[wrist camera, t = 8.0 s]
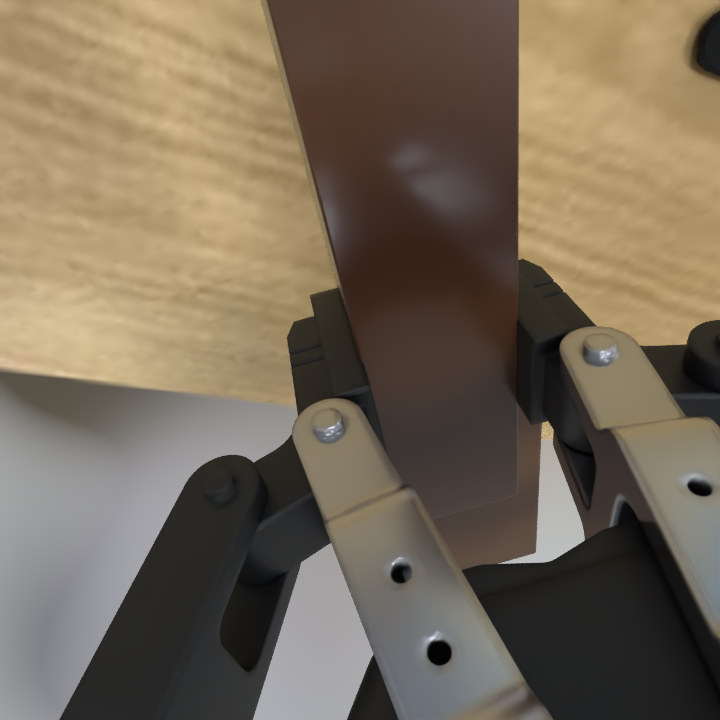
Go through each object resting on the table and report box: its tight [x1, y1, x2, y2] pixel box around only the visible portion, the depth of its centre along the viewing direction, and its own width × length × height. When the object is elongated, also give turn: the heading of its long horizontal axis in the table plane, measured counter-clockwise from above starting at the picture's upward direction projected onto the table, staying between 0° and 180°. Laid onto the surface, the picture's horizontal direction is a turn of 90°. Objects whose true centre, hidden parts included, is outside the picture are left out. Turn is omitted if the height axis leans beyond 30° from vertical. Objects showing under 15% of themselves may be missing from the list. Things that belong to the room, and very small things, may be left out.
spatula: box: [261, 0, 542, 570], centre depth 13 cm, size 24×7×4 cm, turn 11°
